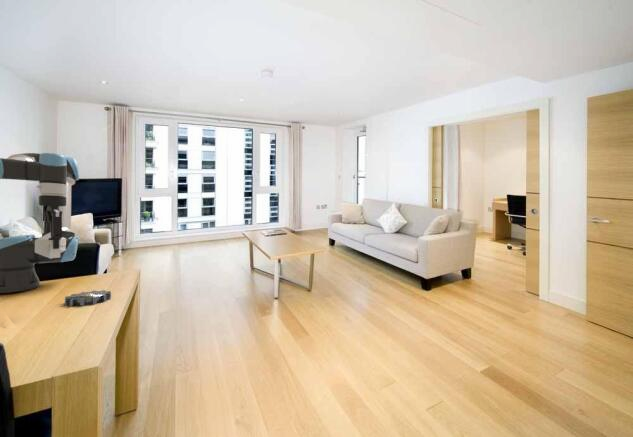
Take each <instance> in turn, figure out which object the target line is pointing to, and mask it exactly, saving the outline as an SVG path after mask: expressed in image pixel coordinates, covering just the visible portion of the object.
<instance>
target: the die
mask: <svg viewBox="0 0 633 437" xmlns="http://www.w3.org/2000/svg"><path fill="white" fill-rule="evenodd" d="M37 238H38V239H36V240H35V253H37V254H40V255H42V256H45V257H48V258H50V240H48V239H49V238H51V232H50V233H48V234H46V235H44V236H42V235H41V236H40V237H37ZM65 250H66V238H64V237H62V238H61V240H60V253H62V252H64V251H65ZM50 259H52V258H50Z"/></svg>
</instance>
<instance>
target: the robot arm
mask: <svg viewBox="0 0 633 437" xmlns="http://www.w3.org/2000/svg"><path fill="white" fill-rule="evenodd" d="M77 162H78V161H77V160H76V159H75V158H74V157H71V156H65V155H62V154H59V153H53V152H52V153H51V152H43V153H36V152H25V153H18V154H17V153H16V154H12V155H9V156H8V157H7V158H4V157H3V158H2V157H1V158H0V180H12V181H13V180H15V181H18V180H19V181H30V182H38V183H39V184H38V185H36V188H37V189H38V194H40V195H39V196H38V205H39V206H41V207H46V210H44V212H43V214H44V215H43V216H44V217H43V218H44V220H43V221H44V222H43V232H41V237H42V236H44V235H46V234H48V233H50V232H51V238H49V239H48V240H50V258H52V259H50V258H48V257H45V256H42V255H40V254H37V253H35V240H36V239H38V238H39V237H36V236H35V234H26V235H24V234H22V235H15V236H7V237H2V238H0V294H5V293H7V294H9V293H16V292H17V293H18V292H23V291H28V290H33V289H37V288H39V287H40V282H41V281H40V278H39V276H38V275H37V273H36V270H35V264H47V263H48V264H49V263H64V262H70V261H74V260H75V259H76V256H77V251H78V245H79V236H77V235H76V233H75V231H73V230H72V186H73V185H75V184H76V181H79V180H80V174H79V167H78V163H77ZM62 237H64V238H66V250H65V251H64V252H62V253H60V240H61V238H62Z"/></svg>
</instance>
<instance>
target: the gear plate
mask: <svg viewBox="0 0 633 437" xmlns="http://www.w3.org/2000/svg"><path fill="white" fill-rule="evenodd" d="M111 299H112V292H111V290H107V291H106V290H105V289H103V290H92V291H81V292H79V293H72V294H70V295H66V296H65V298H64V306H69V307H75V306H80V307H85V306H87V305H88V306H89V305H93V306H94V305H97V304H99V303H106V302H107V300H111Z"/></svg>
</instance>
